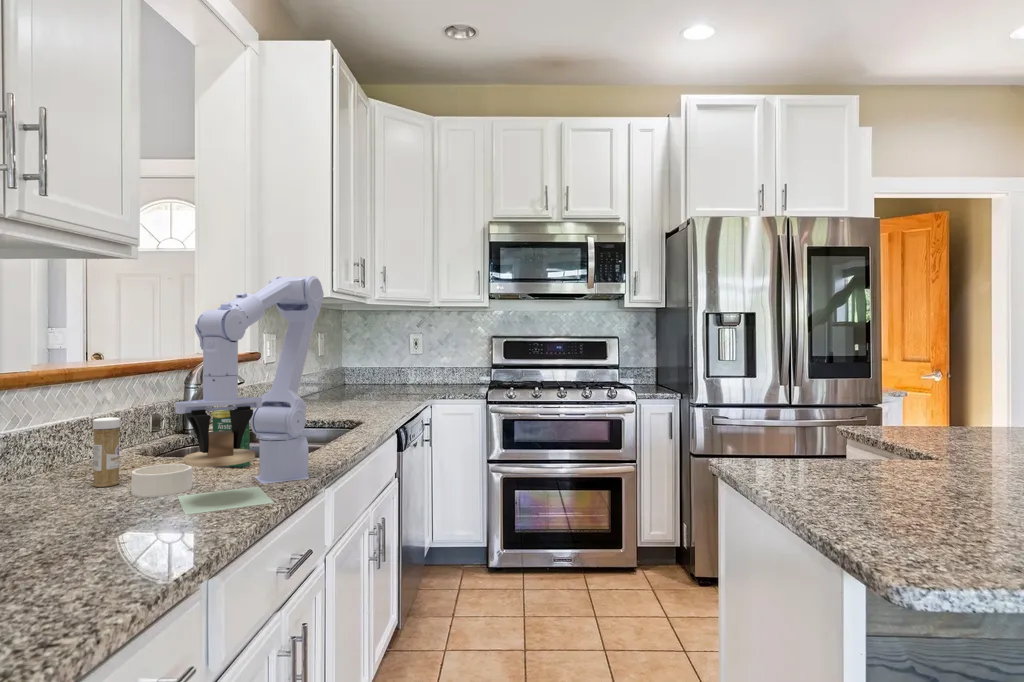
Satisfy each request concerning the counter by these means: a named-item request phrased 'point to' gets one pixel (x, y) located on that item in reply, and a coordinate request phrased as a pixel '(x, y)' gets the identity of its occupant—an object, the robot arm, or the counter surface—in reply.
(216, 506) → the sage mat
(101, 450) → the sprinkles bottle
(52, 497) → the counter surface
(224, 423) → the coffee box
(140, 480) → the cream bowl
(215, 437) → the oak lid
